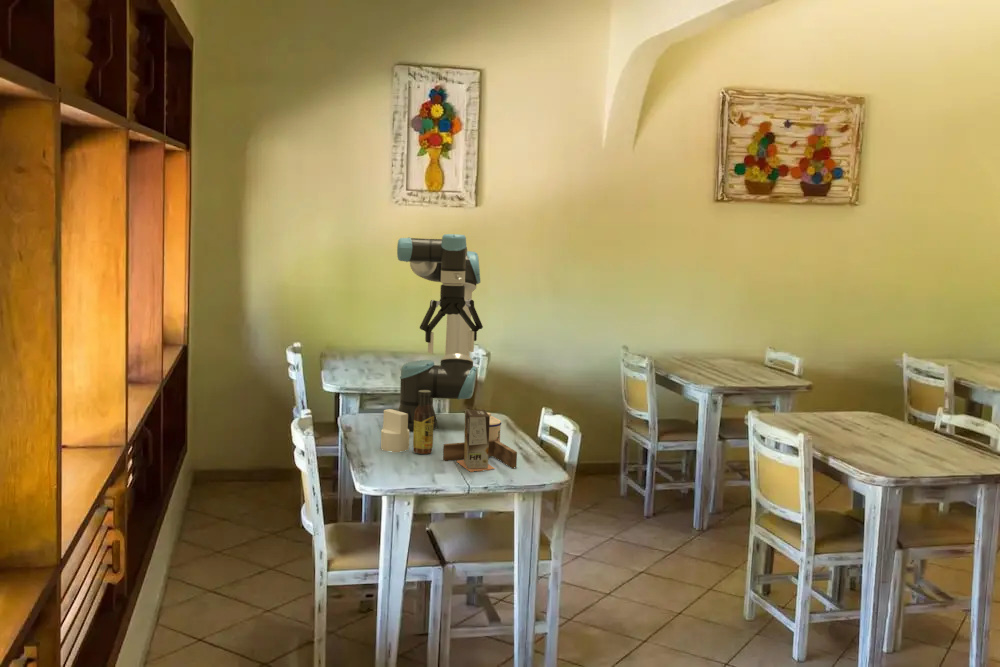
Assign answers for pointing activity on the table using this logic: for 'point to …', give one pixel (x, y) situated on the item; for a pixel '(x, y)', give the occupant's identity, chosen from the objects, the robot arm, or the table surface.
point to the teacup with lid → (494, 428)
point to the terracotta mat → (474, 468)
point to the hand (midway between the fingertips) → (450, 352)
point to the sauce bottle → (423, 424)
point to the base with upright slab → (395, 431)
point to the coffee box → (476, 439)
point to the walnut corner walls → (495, 449)
